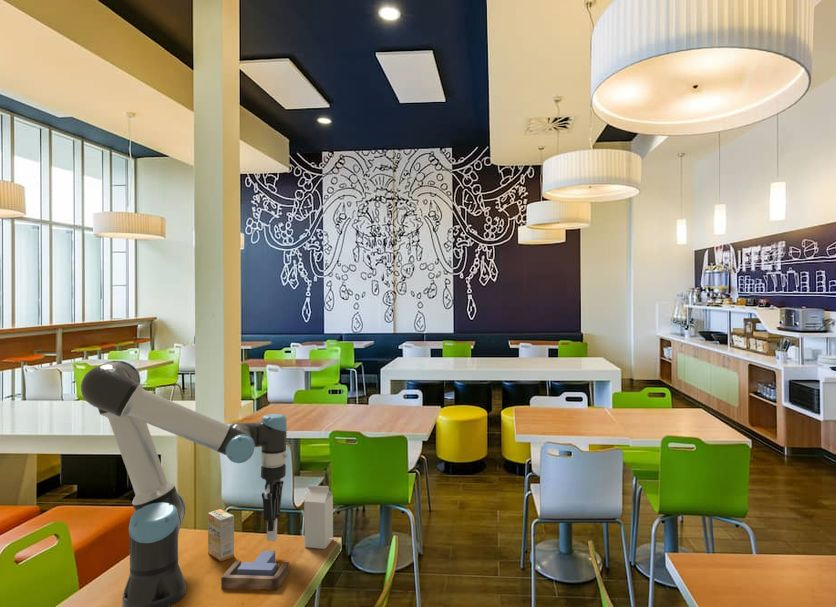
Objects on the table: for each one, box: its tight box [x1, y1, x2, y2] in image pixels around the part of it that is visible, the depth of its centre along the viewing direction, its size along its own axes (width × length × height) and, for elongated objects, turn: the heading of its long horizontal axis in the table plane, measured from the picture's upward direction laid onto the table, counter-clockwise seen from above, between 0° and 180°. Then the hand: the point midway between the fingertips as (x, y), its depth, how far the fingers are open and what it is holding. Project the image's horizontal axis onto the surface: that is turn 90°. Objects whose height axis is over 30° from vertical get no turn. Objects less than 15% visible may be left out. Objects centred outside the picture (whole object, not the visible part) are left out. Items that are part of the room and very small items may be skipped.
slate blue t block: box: [237, 550, 278, 576], centre depth 150 cm, size 11×10×4 cm
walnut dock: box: [220, 560, 290, 591], centre depth 147 cm, size 16×10×3 cm, turn 85°
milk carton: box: [303, 484, 334, 550], centre depth 169 cm, size 7×7×19 cm
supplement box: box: [207, 508, 235, 562], centre depth 162 cm, size 8×5×13 cm, turn 49°
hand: (271, 539), depth 161 cm, fingers closed
